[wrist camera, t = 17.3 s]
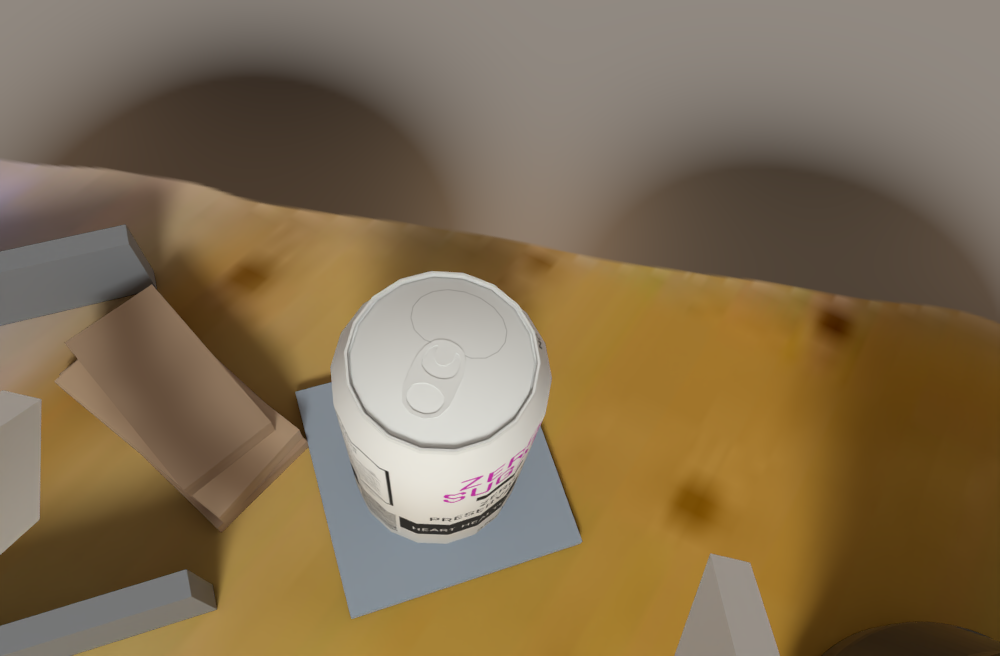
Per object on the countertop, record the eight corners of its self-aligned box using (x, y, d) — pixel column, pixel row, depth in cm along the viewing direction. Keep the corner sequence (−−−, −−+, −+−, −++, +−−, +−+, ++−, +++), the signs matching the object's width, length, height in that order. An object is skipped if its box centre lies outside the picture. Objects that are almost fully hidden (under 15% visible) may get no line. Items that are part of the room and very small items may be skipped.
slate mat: (506, 339, 47) (507, 334, 47) (580, 543, 43) (582, 541, 42) (296, 395, 45) (295, 391, 44) (351, 619, 40) (351, 617, 40)
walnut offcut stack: (161, 307, 47) (140, 273, 43) (314, 446, 44) (305, 423, 41) (62, 388, 44) (31, 360, 41) (218, 540, 42) (199, 524, 38)
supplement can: (395, 370, 45) (384, 226, 32) (536, 426, 45) (587, 305, 31) (329, 508, 42) (284, 414, 28) (480, 571, 41) (510, 506, 28)
